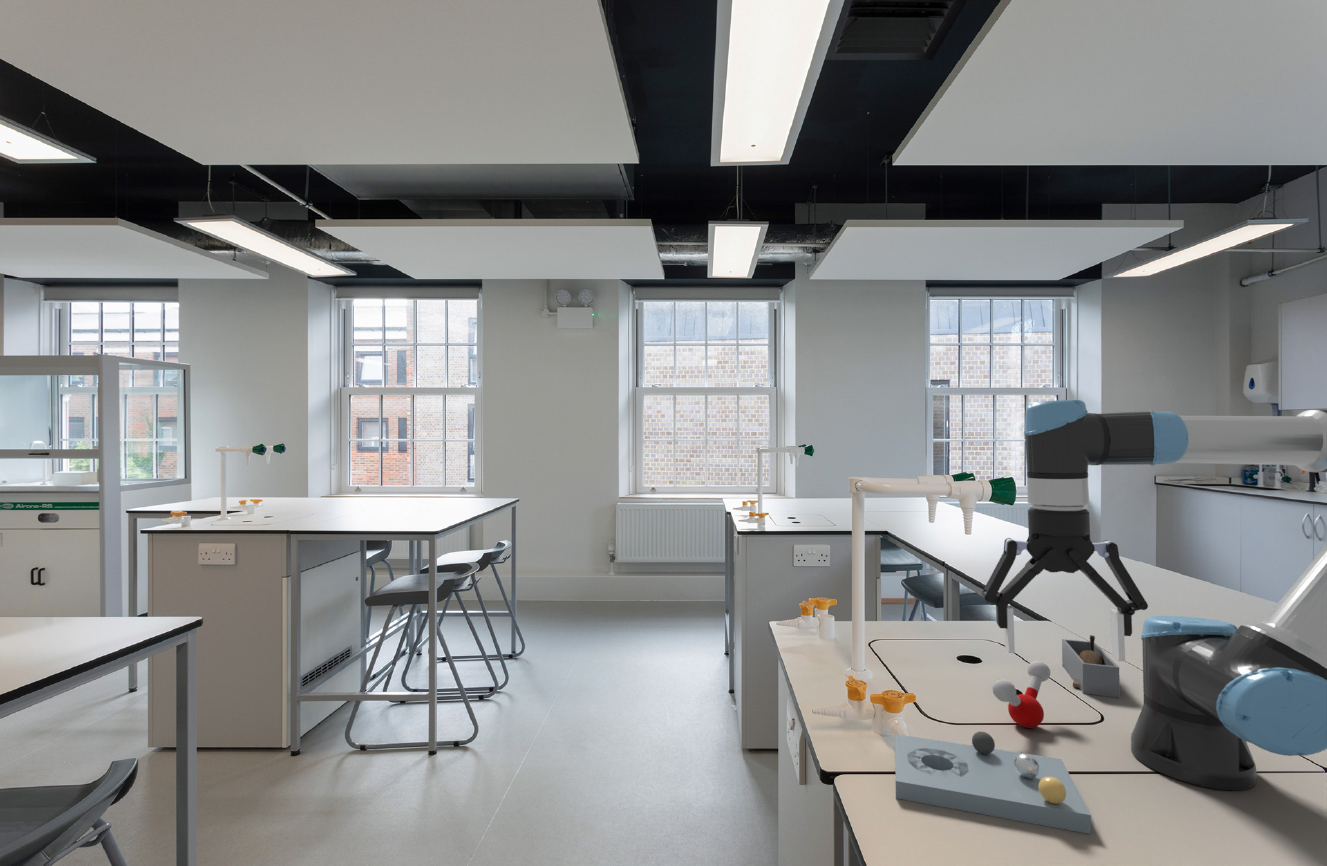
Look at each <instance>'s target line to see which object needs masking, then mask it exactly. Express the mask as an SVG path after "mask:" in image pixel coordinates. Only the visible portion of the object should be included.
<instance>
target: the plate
mask: <svg viewBox="0 0 1327 866" xmlns="http://www.w3.org/2000/svg"><path fill="white" fill-rule="evenodd" d="M894 744H895V745H894V746H895V747H894V748H895V749H894V750H895V751H894V752H895V753H894V754H895V755H894V758H895V763H894V764H895V799H897V800H902V801H910V802H915V803H919V804H925V805H931V806H937V807H941V808H942V807H943V808H947V809H952V810H957V811H964V812H967V813H975V814H978V815H979V814H980V815H985V816H991V817H994V818H1001V819H1007V820H1013V821H1018V822H1023V823H1027V824H1034V825H1039V826H1045V827H1051V828H1055V829H1061V830H1066V831H1072V832H1076V833H1077V832H1078V833H1083V834H1088V835H1092V815H1091V813H1090V811H1089V809H1088V807H1087V805H1086V803H1085V802H1084V800H1083V798H1082V796H1081V794H1080V791H1079V789H1078V788H1077V786H1076V784H1075V782H1074V781H1073V778H1072V776H1071V775H1070V773H1069V771H1068V769H1067V767H1066V765H1065V763H1064V761H1063V759H1062V758H1057V757H1051V756H1045V755H1036V754H1031V753H1027V754H1028V755H1031V756H1032V757H1034V758H1035V759H1036V761H1037V762H1038V764H1039V768H1040V770H1039V774H1038V775H1037V776H1036V777H1035V778H1031V779H1029V778H1025V777H1023V776H1021V775H1020V774H1019V773H1018V772H1017V771H1016V769H1015V766H1014V761H1015V758H1016V757H1017V756H1018V755H1020V754H1026V753H1023V752H1019V751H1012V750H1011V751H1010V750H1004V749H997V748H994V750H993V751H992V752H991V753H990V754H982V753H979V752H978V751H977V750H976V749H975V748H974V746H973V744H972V745H970V744H964V743H958V742H957V743H956V742H952V741H951V742H950V741H944V740H939V739H938V740H937V739H932V738H925V737H924V738H923V737H917V736H910V735H905V734H899V733H894ZM1044 777H1054V778H1056V779H1058V780H1059V781H1060V782H1061V783H1062V784H1063V785H1064V787H1065V789H1066V798H1065V800H1064V801H1063V802H1061V803H1059V804H1054V803H1050V802H1048V801H1047V800H1045V799H1044V798H1043V797H1042V795H1041V794H1040V791H1039V782H1040V780H1041V779H1042V778H1044Z"/></svg>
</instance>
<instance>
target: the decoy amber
mask: <svg viewBox="0 0 1327 866" xmlns="http://www.w3.org/2000/svg"><path fill="white" fill-rule="evenodd" d="M1039 791H1040V794H1041V795H1042V797H1043V798H1044V799H1045V800H1047V801H1048V802H1050V803H1054V804H1059V803H1061V802H1063V801H1064V800H1065V798H1066V789H1065V787H1064V785H1063V784H1062V783H1061V782H1060V781H1059V780H1058V779H1056V778H1054V777H1044V778H1042V779H1041V780H1040V782H1039Z"/></svg>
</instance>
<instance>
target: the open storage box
mask: <svg viewBox="0 0 1327 866" xmlns="http://www.w3.org/2000/svg"><path fill="white" fill-rule="evenodd" d="M1085 650H1091V645H1090V641H1088V640H1076V639H1065V638H1063V639H1062V638H1061V659H1062V660H1061V661H1062V663H1061V664H1062V667H1063V669H1064V670H1065V671H1066V673H1067V674H1068V675H1069V677H1070V678H1071V679H1072V680H1073V681H1074V679H1075V678H1076V680H1077V681H1078V682H1079V684H1080V688H1079V690H1080V691H1081V692H1082V694H1084V695H1085V694H1086V695H1093V696H1101V697H1110V698H1111V697H1113V698H1117V699H1118V698H1119V699H1120V693H1121V692H1120V689H1121V688H1120V666H1118V664H1117V663H1116V662H1115V661H1114V660H1112V658H1111V657H1109V655H1108V654H1107V653H1106V652H1104V651H1103V649H1102V648H1100V647H1099V645H1097V643H1096V642H1095V641H1094V652H1096V653H1098V654H1099V655H1100V656H1101V657H1102V665H1098V664H1088V663H1084V661H1083V660H1082V659H1081V658H1080V657H1079V655H1080V653H1081V652H1082V651H1085Z"/></svg>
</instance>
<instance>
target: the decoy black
mask: <svg viewBox="0 0 1327 866" xmlns="http://www.w3.org/2000/svg"><path fill="white" fill-rule="evenodd" d="M971 744H972V746H974V748H975V749H976V750H977V751H978V752H979V753H982V754H990V753H991V752H992V751H993V750H994V749H996V748H995V747H996V743H995V740H994V739H993V737H992V736H991V735H990V733H988V732H985V731H977V732H975V733H974V734H973V735H972V737H971Z"/></svg>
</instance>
